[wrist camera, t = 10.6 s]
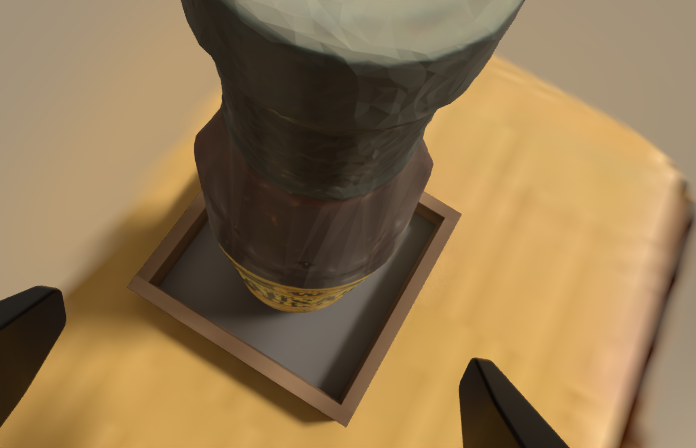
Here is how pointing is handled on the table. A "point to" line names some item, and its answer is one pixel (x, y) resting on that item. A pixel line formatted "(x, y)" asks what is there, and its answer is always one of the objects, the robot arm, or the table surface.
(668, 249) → the table surface
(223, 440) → the table surface
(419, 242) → the walnut frame
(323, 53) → the sauce bottle
